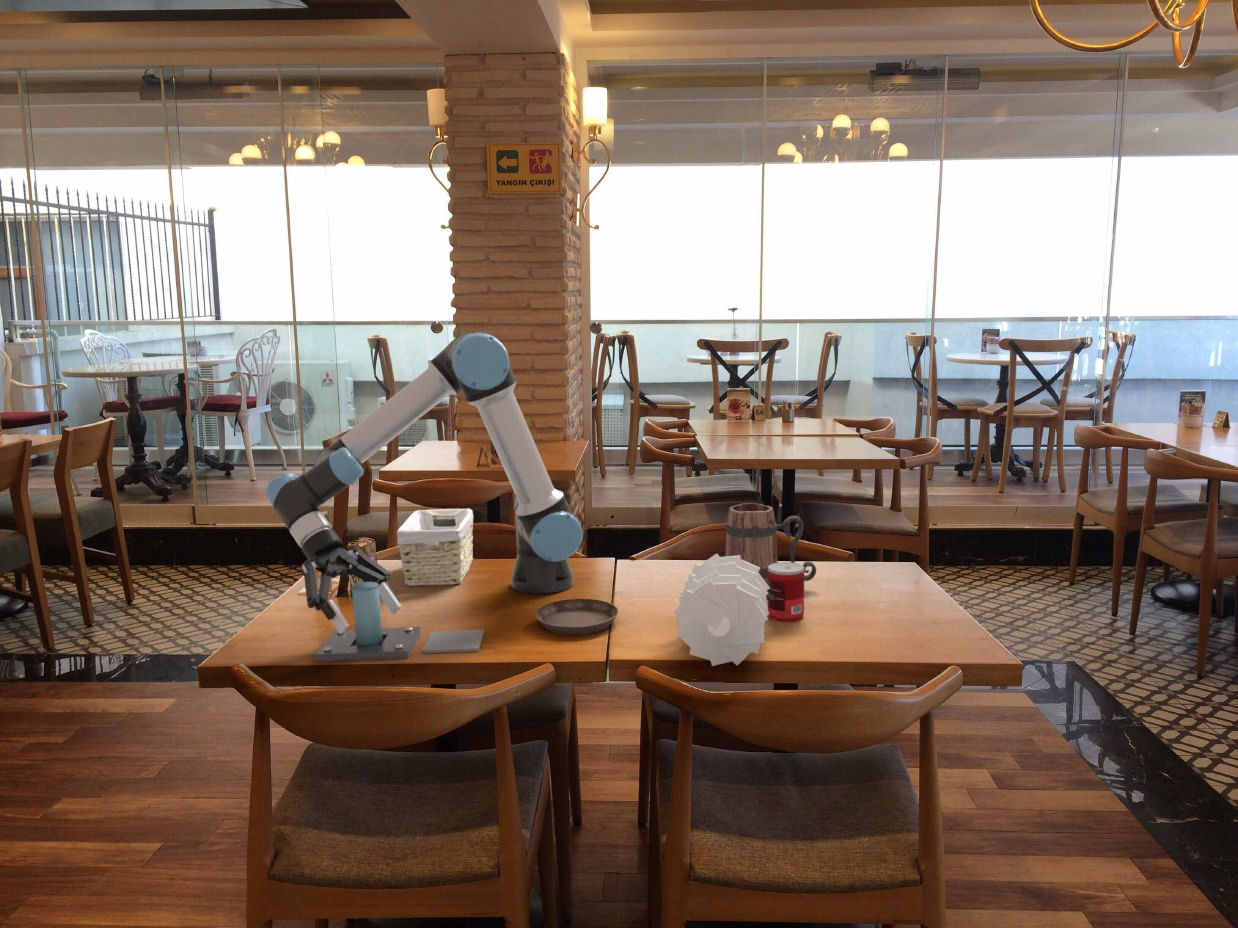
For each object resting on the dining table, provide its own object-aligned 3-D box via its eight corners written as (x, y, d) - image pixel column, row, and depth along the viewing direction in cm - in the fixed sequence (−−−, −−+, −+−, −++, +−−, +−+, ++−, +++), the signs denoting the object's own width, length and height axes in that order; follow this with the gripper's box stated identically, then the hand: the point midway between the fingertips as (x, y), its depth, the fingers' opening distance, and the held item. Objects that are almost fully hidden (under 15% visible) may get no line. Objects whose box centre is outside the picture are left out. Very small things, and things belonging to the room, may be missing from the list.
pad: (484, 632, 198) (484, 629, 198) (478, 651, 187) (478, 648, 187) (432, 633, 198) (431, 631, 198) (422, 653, 187) (422, 650, 187)
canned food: (806, 611, 205) (806, 562, 204) (801, 623, 198) (801, 573, 196) (771, 608, 208) (771, 560, 206) (764, 620, 200) (764, 570, 199)
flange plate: (420, 633, 198) (419, 624, 198) (407, 658, 184) (407, 648, 184) (334, 636, 198) (333, 627, 197) (315, 661, 184) (314, 651, 184)
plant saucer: (625, 635, 195) (624, 621, 194) (539, 642, 192) (539, 628, 191) (611, 608, 212) (611, 595, 211) (533, 614, 209) (532, 601, 209)
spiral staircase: (746, 647, 196) (743, 689, 172) (670, 609, 198) (656, 646, 173) (785, 570, 193) (787, 603, 169) (707, 533, 195) (698, 559, 170)
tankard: (717, 601, 214) (716, 516, 211) (713, 580, 231) (712, 500, 227) (821, 600, 213) (822, 514, 209) (810, 579, 229) (810, 498, 226)
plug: (385, 642, 194) (381, 581, 191) (379, 651, 189) (375, 588, 186) (360, 643, 194) (355, 582, 191) (353, 652, 188) (348, 589, 186)
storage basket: (463, 586, 231) (460, 528, 229) (397, 588, 231) (393, 530, 229) (477, 560, 255) (474, 507, 252) (417, 562, 255) (414, 509, 252)
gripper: (356, 536, 207) (409, 612, 201) (258, 563, 186) (313, 649, 181) (371, 515, 203) (425, 592, 197) (272, 540, 183) (329, 627, 177)
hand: (372, 619), depth 189 cm, fingers open, 13 cm apart
